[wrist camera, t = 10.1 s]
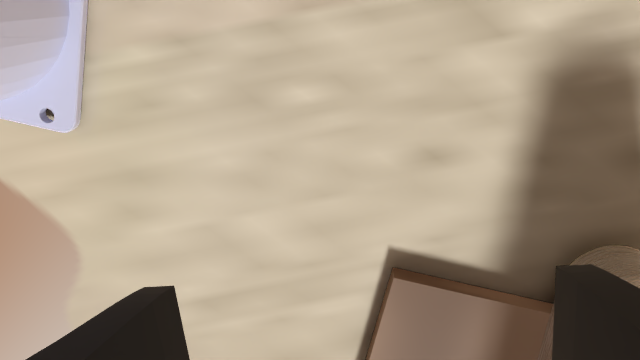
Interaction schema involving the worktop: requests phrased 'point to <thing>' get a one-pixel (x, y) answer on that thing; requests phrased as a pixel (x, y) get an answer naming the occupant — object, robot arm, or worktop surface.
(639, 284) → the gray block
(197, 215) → the worktop surface
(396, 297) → the walnut board
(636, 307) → the robot arm
